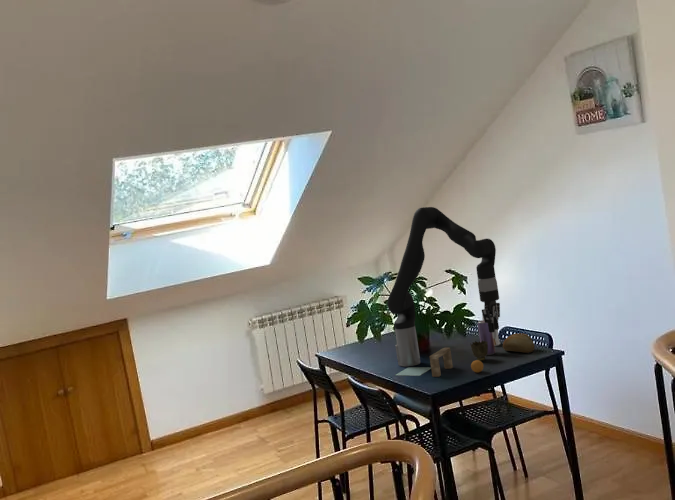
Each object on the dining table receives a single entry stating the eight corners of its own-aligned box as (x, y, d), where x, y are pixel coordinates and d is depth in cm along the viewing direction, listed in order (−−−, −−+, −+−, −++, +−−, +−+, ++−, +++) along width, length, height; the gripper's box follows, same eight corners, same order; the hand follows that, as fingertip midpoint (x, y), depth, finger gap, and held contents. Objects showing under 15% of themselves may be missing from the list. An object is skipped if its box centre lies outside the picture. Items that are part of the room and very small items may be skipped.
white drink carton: (502, 345, 339) (498, 313, 338) (487, 347, 339) (483, 316, 338) (499, 342, 346) (494, 311, 345) (484, 344, 346) (480, 313, 345)
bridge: (432, 376, 303) (429, 356, 303) (446, 367, 315) (443, 347, 314) (438, 376, 302) (435, 356, 301) (453, 367, 313) (450, 347, 313)
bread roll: (510, 348, 332) (507, 331, 331) (540, 349, 321) (537, 331, 321) (499, 353, 325) (496, 336, 324) (529, 355, 314) (526, 337, 314)
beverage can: (492, 355, 323) (487, 322, 322) (479, 355, 327) (475, 322, 325) (497, 352, 328) (493, 319, 327) (485, 352, 331) (480, 319, 330)
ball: (470, 373, 299) (468, 362, 298) (474, 370, 303) (473, 358, 302) (481, 374, 296) (479, 362, 295) (486, 370, 300) (484, 358, 300)
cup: (479, 357, 323) (476, 340, 322) (493, 358, 317) (490, 340, 317) (469, 362, 318) (466, 344, 317) (483, 363, 312) (481, 345, 312)
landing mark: (395, 375, 315) (395, 375, 315) (408, 367, 324) (408, 367, 324) (419, 375, 308) (419, 375, 308) (432, 367, 318) (432, 367, 318)
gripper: (486, 286, 299) (491, 327, 301) (472, 292, 288) (478, 335, 289) (503, 285, 295) (509, 326, 296) (490, 291, 283) (496, 334, 285)
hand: (494, 330), depth 293 cm, fingers open, 4 cm apart
